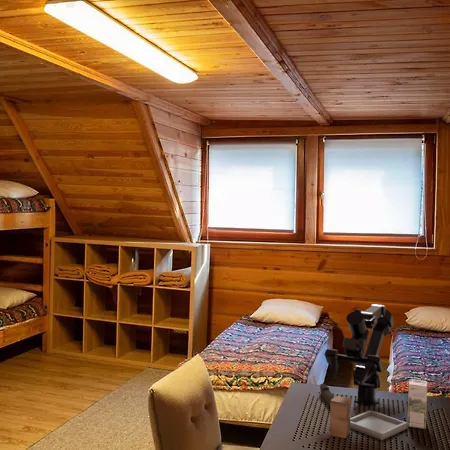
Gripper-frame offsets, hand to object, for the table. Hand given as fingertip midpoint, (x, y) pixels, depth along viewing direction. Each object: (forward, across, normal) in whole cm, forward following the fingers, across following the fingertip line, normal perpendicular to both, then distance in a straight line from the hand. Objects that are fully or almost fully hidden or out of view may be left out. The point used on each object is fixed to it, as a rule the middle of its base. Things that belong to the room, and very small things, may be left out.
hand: (346, 381), depth 187 cm
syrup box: (+1, +20, +19) cm, 27 cm away
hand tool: (-2, -12, +22) cm, 25 cm away
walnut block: (+16, +1, +5) cm, 16 cm away
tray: (+7, +9, +12) cm, 17 cm away
